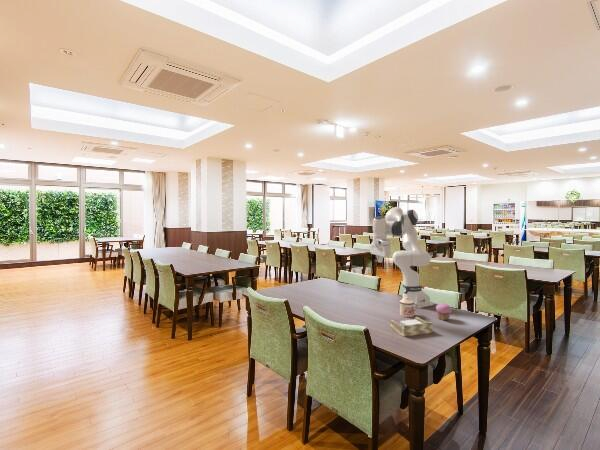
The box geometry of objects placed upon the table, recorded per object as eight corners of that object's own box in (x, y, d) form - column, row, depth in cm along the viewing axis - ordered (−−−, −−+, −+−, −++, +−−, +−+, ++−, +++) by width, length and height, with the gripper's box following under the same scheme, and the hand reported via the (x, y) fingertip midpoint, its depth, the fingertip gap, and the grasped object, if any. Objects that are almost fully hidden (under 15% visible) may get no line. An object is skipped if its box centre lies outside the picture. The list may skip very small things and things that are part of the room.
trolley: (415, 327, 183) (415, 318, 183) (425, 332, 174) (425, 323, 174) (397, 329, 180) (397, 320, 180) (406, 335, 171) (406, 325, 171)
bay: (416, 324, 186) (416, 314, 186) (432, 332, 173) (432, 322, 173) (390, 327, 182) (389, 318, 181) (403, 336, 169) (403, 326, 168)
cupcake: (445, 316, 200) (445, 301, 199) (454, 321, 191) (454, 304, 191) (433, 317, 198) (432, 301, 198) (441, 322, 190) (441, 305, 189)
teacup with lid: (404, 318, 198) (404, 299, 198) (396, 313, 207) (396, 296, 207) (421, 316, 201) (421, 298, 200) (413, 312, 210) (413, 294, 209)
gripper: (367, 240, 215) (368, 260, 215) (383, 242, 195) (383, 264, 196) (376, 239, 217) (376, 259, 217) (392, 242, 197) (392, 264, 197)
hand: (379, 262), depth 206 cm, fingers closed
